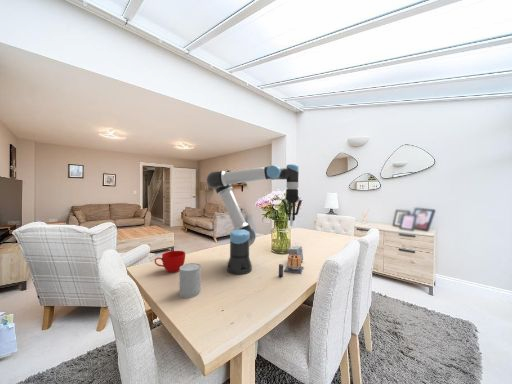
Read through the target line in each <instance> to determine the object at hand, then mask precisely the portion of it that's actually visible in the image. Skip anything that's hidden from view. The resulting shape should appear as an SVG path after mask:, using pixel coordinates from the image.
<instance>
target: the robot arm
mask: <svg viewBox="0 0 512 384" xmlns="http://www.w3.org/2000/svg"><path fill="white" fill-rule="evenodd" d="M265 180H285V182H286V187H285V188H286V189H285V191H286V193H285V197H284V198H283V199H281V201H282V203H283V208H284V212H285V214H286V215H288V221H289V227H293V226H294V221H295V220H296V216H297V215H298V214H299V211H300V207H301V204H302V202H303V199H301V198H300V197H299V165H298V164H296V163H295V164H294V163H292V164H291V163H290V164H286V167H279V166H278V165H276V164H272V165H269V166H261V167H255V168H253V167H252V168H247V169H240V170H232V171H225V170H220V171H217V170H216V171H215V170H214V171H211V172H210V173H208V175H207V176H206V184H207V186H208V187H209V188H211V189H212V190H215V193H216V194H217V196H218V195H219V196H220V198H221V201H222V203H223V205H224V208H225V209H226V212H227V214H228V216H229V219H230V220H231V223H232V225H233V227H234V228H233V230H232V231H231V233H230V235H229V242H230V243H229V251H230V252H229V259H228V262H227V265H226V272H228V273H229V274H234V275H245V274H248V273H251V272H252V270H253V265H252V261H251V258H250V246H252V245H253V244H254V242H255V241H256V237H257V236H256V232H255V231H254V229H252V228H251V226H250V223H247V222H246V219H245V217H244V215H243V212H242V210H241V208H240V206H239V204H238V200H237V199H236V197H235V194H234V191H233V188H234V187H233V185H232V184H239V183H240V184H241V183H248V182H257V181H265ZM297 202H298V203H297ZM287 203H288V205H287ZM296 203H297V207H296Z"/></svg>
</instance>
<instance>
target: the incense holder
mask: <svg viewBox="0 0 512 384" xmlns="http://www.w3.org/2000/svg"><path fill="white" fill-rule="evenodd" d="M286 252H287V253H288V255H299V256H301V262H302V261H303V260H304V254H303V246H302V245H294V246H293V245H291V247H289V248H287V249H286Z"/></svg>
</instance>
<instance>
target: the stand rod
mask: <svg viewBox="0 0 512 384" xmlns="http://www.w3.org/2000/svg"><path fill="white" fill-rule="evenodd" d="M278 277H279V278H283V277H284V264H283V263H282V264H278Z"/></svg>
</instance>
